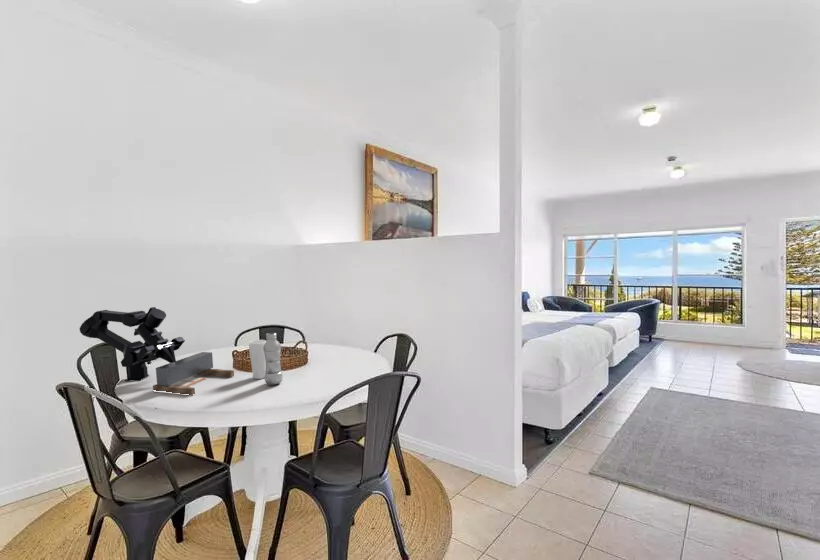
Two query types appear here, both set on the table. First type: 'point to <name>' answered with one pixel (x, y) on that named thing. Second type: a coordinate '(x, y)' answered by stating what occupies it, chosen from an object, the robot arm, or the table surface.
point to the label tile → (188, 381)
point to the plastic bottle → (272, 360)
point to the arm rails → (189, 389)
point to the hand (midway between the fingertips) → (174, 363)
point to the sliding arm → (184, 368)
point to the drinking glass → (257, 358)
